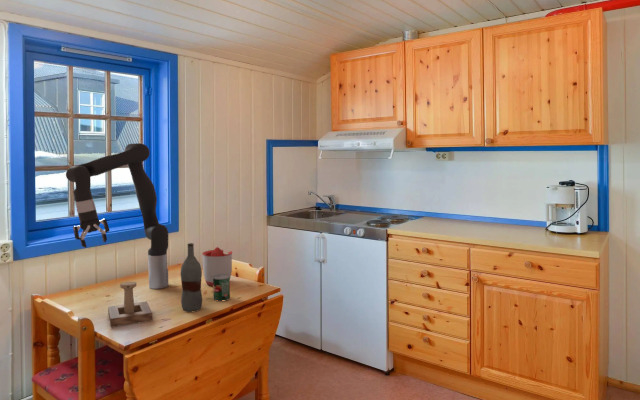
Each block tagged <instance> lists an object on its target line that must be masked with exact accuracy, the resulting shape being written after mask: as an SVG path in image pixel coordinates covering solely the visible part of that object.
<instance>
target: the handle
mask: <svg viewBox="0 0 640 400" xmlns="http://www.w3.org/2000/svg"><path fill="white" fill-rule="evenodd" d="M119 287H120V288H121V289H123V292H124V295H123V296H124V297H123V305H124V311H125V314H127V313H134V303H135V301H134V300H135V299H134V288H135V287H137V282H136V281H125V282H121V283H120V284H119Z"/></svg>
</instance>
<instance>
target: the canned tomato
mask: <svg viewBox="0 0 640 400" xmlns="http://www.w3.org/2000/svg"><path fill="white" fill-rule="evenodd" d="M230 282H231V277H230V276H229V275H224V274H222V275H215V276H213V286H212V288H213V289H212V291H213V299H212V300H213V301H215V300H218V301H217V302H223V301H222V300H227V299H229V298H230V299H231V291H230V289H231V288H230V285H231V284H230ZM230 299H229V300H230ZM227 301H228V300H227Z"/></svg>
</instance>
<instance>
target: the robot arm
mask: <svg viewBox="0 0 640 400" xmlns="http://www.w3.org/2000/svg"><path fill="white" fill-rule="evenodd" d="M150 154H151V153H150V149H149V146H148V145H146V144H144V143H128V144H127V145H126V146H125V147H124V150H123V151H121V152H119V153H115V154H110V155H105V156H103V157H102V156H101V157H100V158H99V157H98V158H95V159H93V160H90V161H88V162H86V163H81V164H77V165H74V166H70V167H69V168H67V170H66V172H65V178H66V179H67V180H68V181H69V182H71V183H75V188H74V189H73V191H72V192H73V197H74V200H75V206H76V212H77V215H78V219H79V225H74V226H73V227H72V229H73V235H74V239H75V240H79V241H80V245H81V246H82V247H83V248H84V249H85V248H88V247H87V243H86V240H85V237H86V236H87V234H88V233H90V234H91V233H93V232H97V231H98V232H99V233H101V238H102V242H103V243H106V242H107V240H108V239H107V233H108V232H110V230H111V229H110V227H109V224H108V221H107V219H106V218H102V219H101V220H100V219H99V216H98V212H97V209H96V204H95V200H94V198H93V194H92V191H91V177H96V176H99V175H102V174H104V173H108V172H110V171H113V170H115V169H118V168H121V167H124V166H126V165H127V167H128V169H129V173H130V176H131V179H132V182H133V186H134V189H135V190H134V192H135V195H136V199H137V201H138V206H139V209H140V213H141V217H142V222H143V230H144V235H145V236H146V238H147V239H148V240H150V248H148V249H147V263H148V264H147V265H148V287H149V289H155V290H157V289H164V288H167V287H169V268H168V254H167V252H168V249H169V231H168V227H166V225H163V224H161V223H160V221H159V220H158V216H157V204H158V203H157V201H158V198H157V192H156V190H155V189H156V188H155V185H154V183H153V181H152V180H151V179H150V177H149V175H148V174H147V173H146V171H145V169H144V166H143V162H145V161H147V160H148V158H149V157H150ZM101 224H102V225H103V228H104V230H103V228H101V227H100V225H101ZM80 229H81V230H82V231H81V234H80V233H79V231H80Z"/></svg>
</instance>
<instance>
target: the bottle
mask: <svg viewBox="0 0 640 400" xmlns="http://www.w3.org/2000/svg"><path fill="white" fill-rule="evenodd" d="M194 246H195V244H194V243H192V242H191V243H187V256H186V257H185V259H184V261H183V262H182V264H181V268H180V281H181V290H182V292H181V299H180V303H181V308H182V311H183V312H186V313H193V312H192V311H195V312H198V311H200V310H201V309H202V306H203V295H202V276H203V269H202V266H201V263H200V262H199V261H198V259H197V258H196V256H195V250H194V249H195V248H194ZM197 310H198V311H197Z"/></svg>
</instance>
